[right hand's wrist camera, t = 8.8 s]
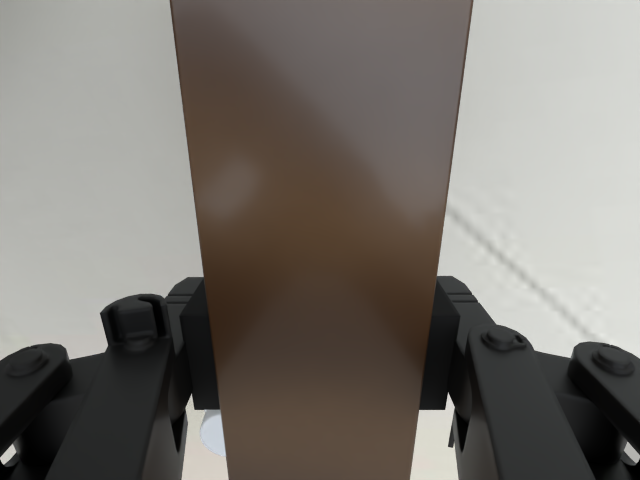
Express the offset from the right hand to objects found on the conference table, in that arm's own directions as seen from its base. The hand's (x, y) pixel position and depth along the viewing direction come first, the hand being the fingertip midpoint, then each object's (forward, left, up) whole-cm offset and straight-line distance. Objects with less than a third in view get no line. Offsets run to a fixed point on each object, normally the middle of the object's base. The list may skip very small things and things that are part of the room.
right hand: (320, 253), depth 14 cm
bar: (+3, +24, -1) cm, 24 cm away
